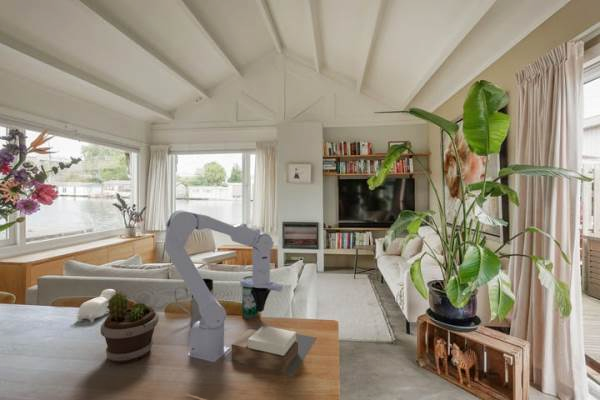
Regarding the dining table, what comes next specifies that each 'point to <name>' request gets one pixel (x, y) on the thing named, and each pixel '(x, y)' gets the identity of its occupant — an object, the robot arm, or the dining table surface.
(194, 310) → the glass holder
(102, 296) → the white figurine
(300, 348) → the desk mat
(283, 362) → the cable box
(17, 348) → the dining table surface
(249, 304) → the can
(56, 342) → the dining table surface
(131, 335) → the flowerpot
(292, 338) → the lid
